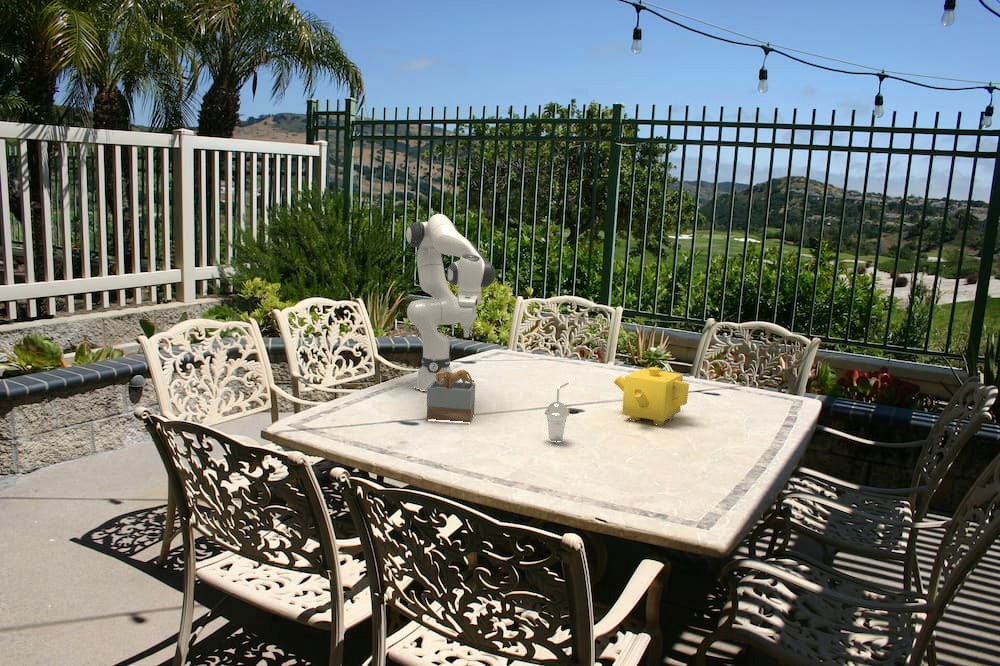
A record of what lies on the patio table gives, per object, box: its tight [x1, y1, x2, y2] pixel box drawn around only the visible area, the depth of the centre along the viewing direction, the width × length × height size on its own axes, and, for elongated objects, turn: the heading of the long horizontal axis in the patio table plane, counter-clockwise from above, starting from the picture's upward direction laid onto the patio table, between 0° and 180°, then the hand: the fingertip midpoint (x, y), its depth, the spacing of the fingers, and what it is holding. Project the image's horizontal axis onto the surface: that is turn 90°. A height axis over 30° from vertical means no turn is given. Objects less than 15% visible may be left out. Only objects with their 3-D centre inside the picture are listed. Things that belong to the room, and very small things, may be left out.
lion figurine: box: [436, 369, 476, 389], centre depth 297 cm, size 15×5×9 cm, turn 119°
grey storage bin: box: [426, 381, 476, 409], centre depth 300 cm, size 12×16×7 cm
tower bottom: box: [426, 401, 476, 423], centre depth 301 cm, size 12×16×6 cm
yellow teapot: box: [613, 366, 690, 426], centre depth 311 cm, size 35×29×20 cm
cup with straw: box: [544, 382, 570, 442], centre depth 277 cm, size 8×9×20 cm
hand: (467, 334), depth 305 cm, fingers open, 8 cm apart
